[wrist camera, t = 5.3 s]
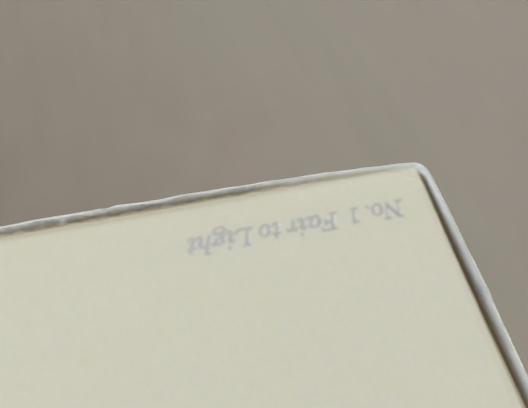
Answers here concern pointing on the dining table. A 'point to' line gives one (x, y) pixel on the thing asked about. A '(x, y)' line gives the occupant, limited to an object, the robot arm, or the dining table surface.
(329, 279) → the skincare box
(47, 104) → the dining table surface
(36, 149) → the dining table surface
